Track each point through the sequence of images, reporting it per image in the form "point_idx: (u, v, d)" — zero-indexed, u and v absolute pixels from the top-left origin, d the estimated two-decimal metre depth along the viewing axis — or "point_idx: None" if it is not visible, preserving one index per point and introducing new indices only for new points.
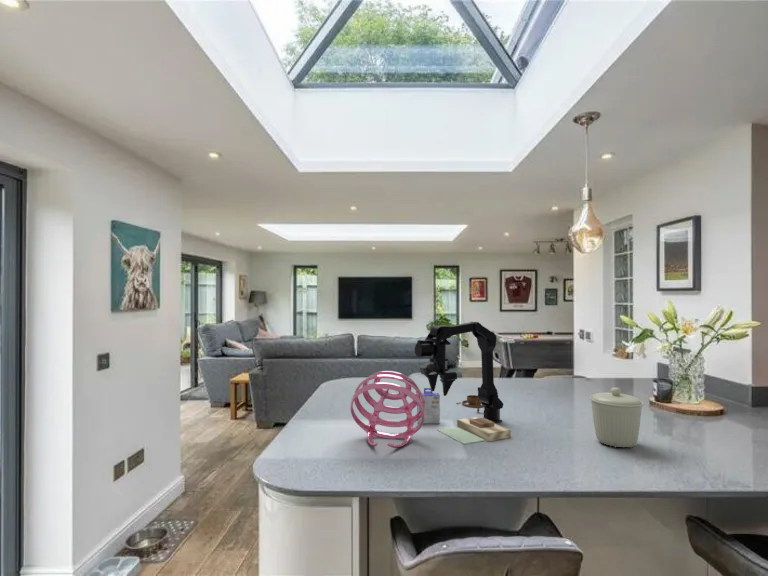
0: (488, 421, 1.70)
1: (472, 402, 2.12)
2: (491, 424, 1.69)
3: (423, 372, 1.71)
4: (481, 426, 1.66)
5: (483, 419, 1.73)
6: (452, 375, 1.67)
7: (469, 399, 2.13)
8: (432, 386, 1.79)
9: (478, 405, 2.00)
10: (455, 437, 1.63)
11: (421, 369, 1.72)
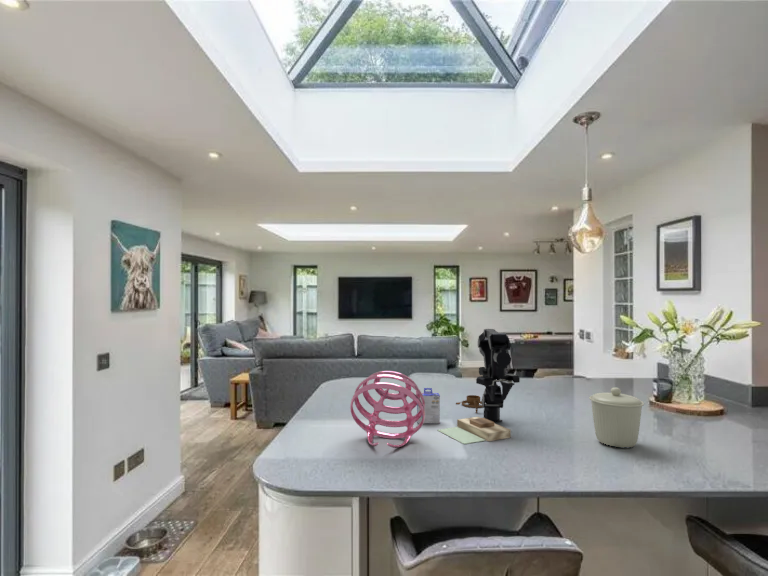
0: (488, 421, 1.70)
1: (471, 402, 2.12)
2: (491, 424, 1.69)
3: None
4: (481, 426, 1.66)
5: (483, 419, 1.73)
6: (480, 380, 1.71)
7: (468, 399, 2.13)
8: (503, 394, 1.76)
9: (476, 405, 1.99)
10: (455, 437, 1.63)
11: None
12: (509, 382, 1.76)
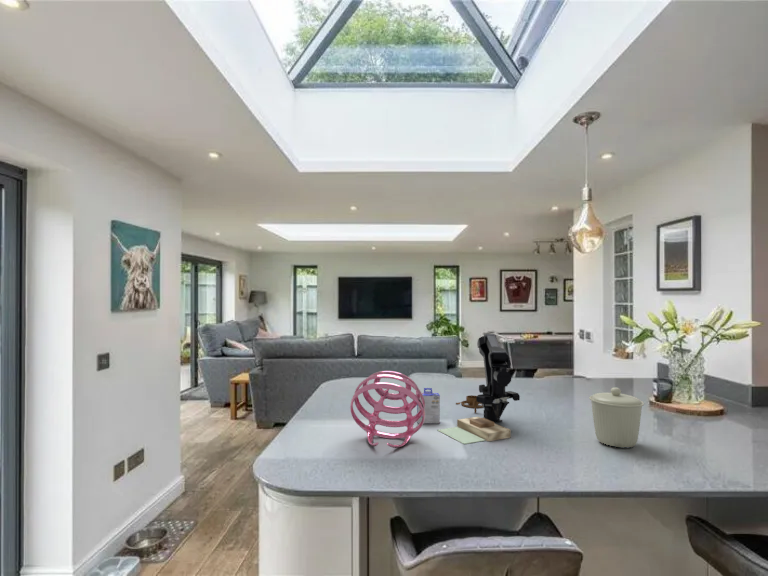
0: (488, 421, 1.70)
1: (471, 402, 2.11)
2: (491, 424, 1.69)
3: None
4: (481, 426, 1.66)
5: (483, 419, 1.73)
6: (480, 399, 1.70)
7: (468, 399, 2.12)
8: None
9: (475, 405, 1.99)
10: (455, 437, 1.63)
11: None
12: (504, 401, 1.74)
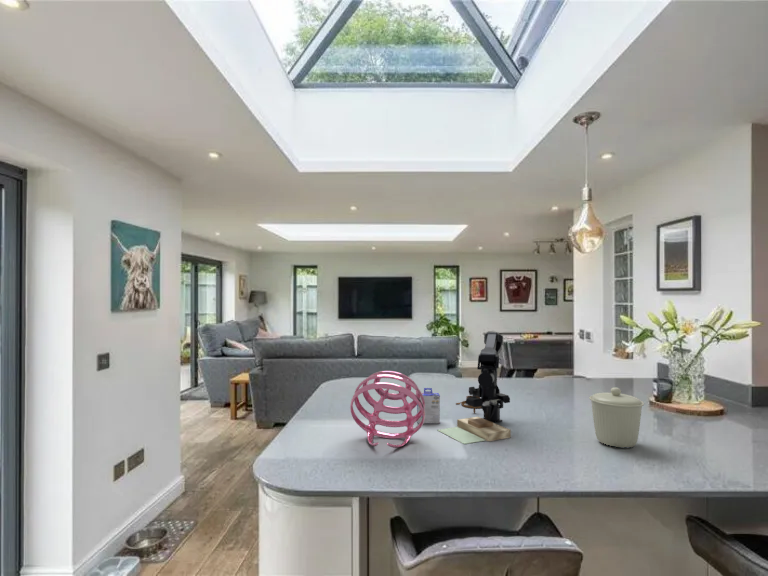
0: (486, 421, 1.70)
1: None
2: (489, 424, 1.68)
3: None
4: (479, 426, 1.66)
5: (481, 419, 1.73)
6: (470, 401, 1.68)
7: None
8: None
9: None
10: (455, 437, 1.63)
11: None
12: (494, 403, 1.72)
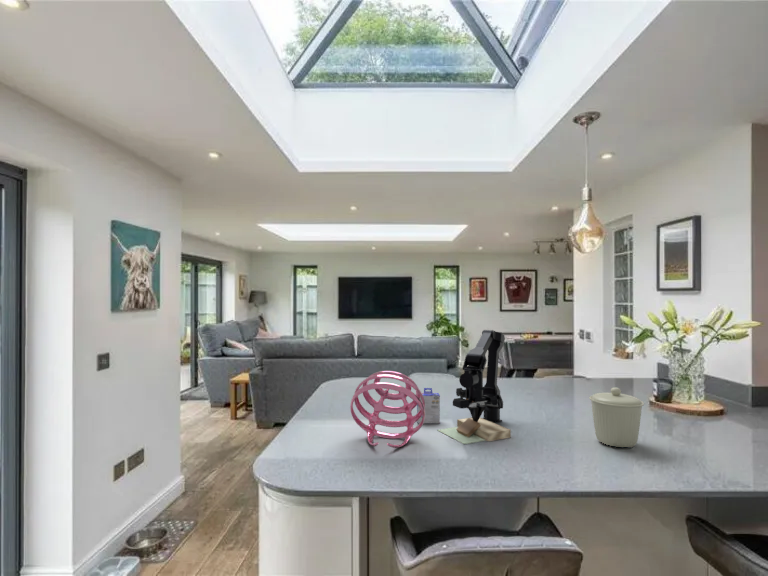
0: (473, 424, 1.67)
1: None
2: (477, 426, 1.65)
3: None
4: (468, 435, 1.63)
5: (468, 421, 1.70)
6: (457, 402, 1.65)
7: None
8: None
9: None
10: (455, 437, 1.63)
11: None
12: (481, 405, 1.69)
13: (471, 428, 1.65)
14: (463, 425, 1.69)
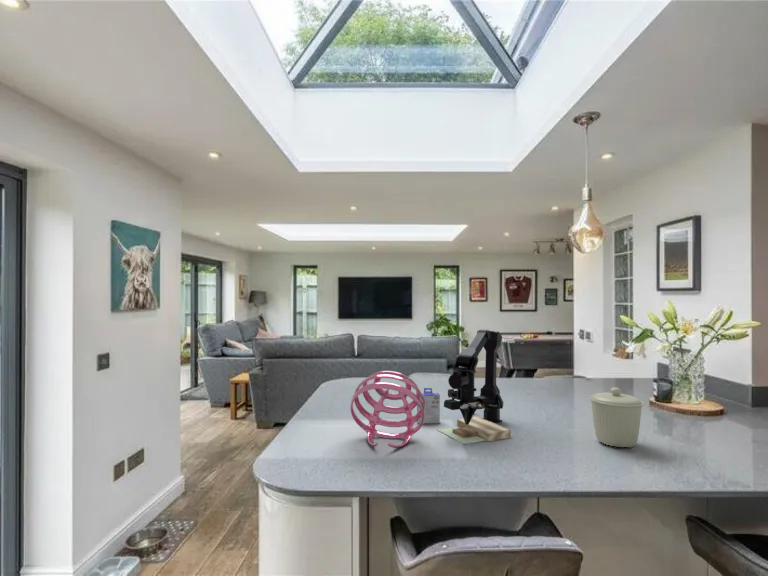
0: (471, 431, 1.66)
1: None
2: (474, 434, 1.64)
3: None
4: (463, 436, 1.62)
5: (466, 428, 1.69)
6: (448, 404, 1.63)
7: None
8: None
9: None
10: (455, 437, 1.63)
11: None
12: (473, 406, 1.67)
13: (468, 432, 1.64)
14: (460, 429, 1.68)
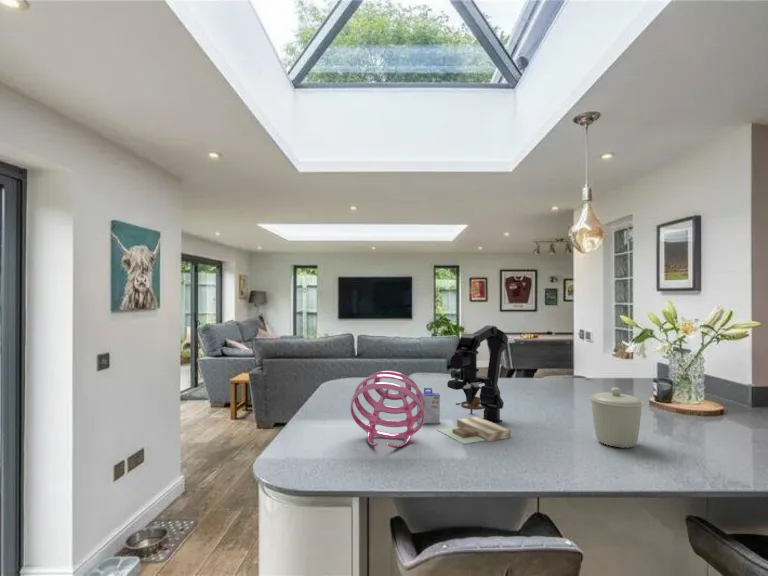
0: (471, 431, 1.66)
1: None
2: (474, 434, 1.64)
3: None
4: (463, 436, 1.62)
5: (466, 428, 1.69)
6: (451, 384, 1.68)
7: None
8: None
9: (471, 406, 1.97)
10: (455, 437, 1.63)
11: None
12: (475, 386, 1.72)
13: (468, 432, 1.64)
14: (460, 429, 1.68)
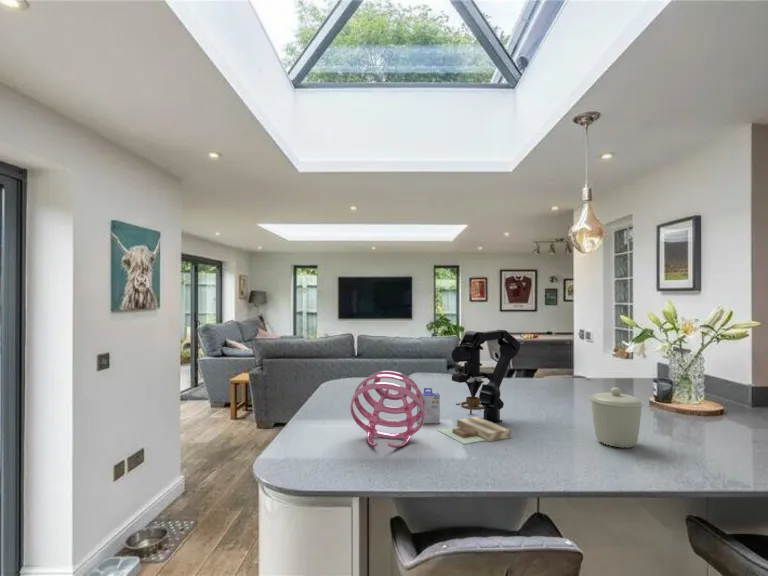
0: (471, 431, 1.66)
1: None
2: (474, 434, 1.64)
3: None
4: (463, 436, 1.62)
5: (466, 428, 1.69)
6: (455, 377, 1.76)
7: (467, 400, 2.10)
8: None
9: (470, 406, 1.97)
10: (455, 437, 1.63)
11: None
12: (478, 380, 1.80)
13: (468, 432, 1.64)
14: (460, 429, 1.68)
